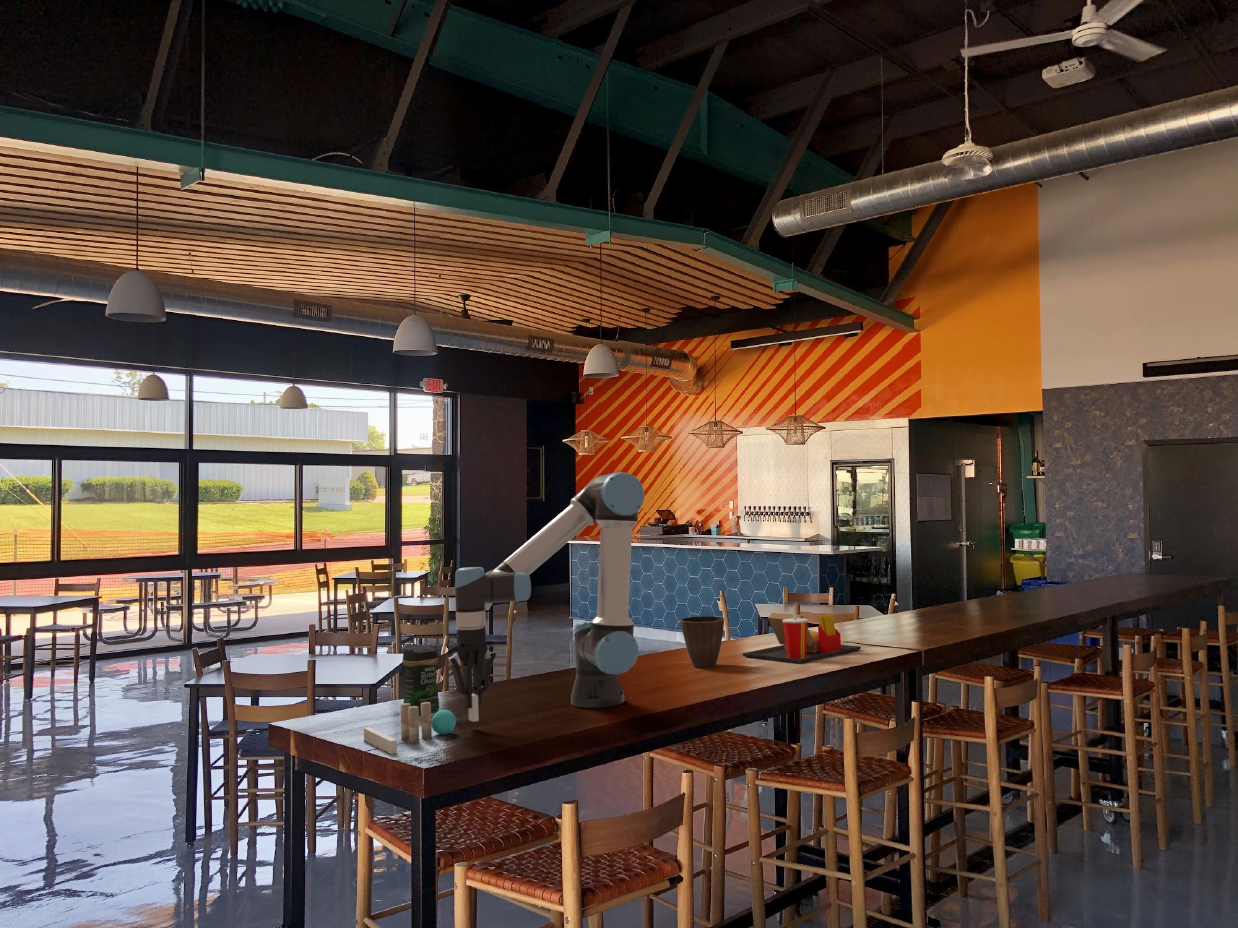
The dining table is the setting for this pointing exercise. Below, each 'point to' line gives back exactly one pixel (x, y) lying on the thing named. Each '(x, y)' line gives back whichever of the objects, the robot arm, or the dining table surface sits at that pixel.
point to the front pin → (426, 720)
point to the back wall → (380, 740)
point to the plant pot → (703, 639)
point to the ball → (443, 722)
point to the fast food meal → (802, 640)
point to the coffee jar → (421, 676)
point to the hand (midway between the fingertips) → (473, 720)
